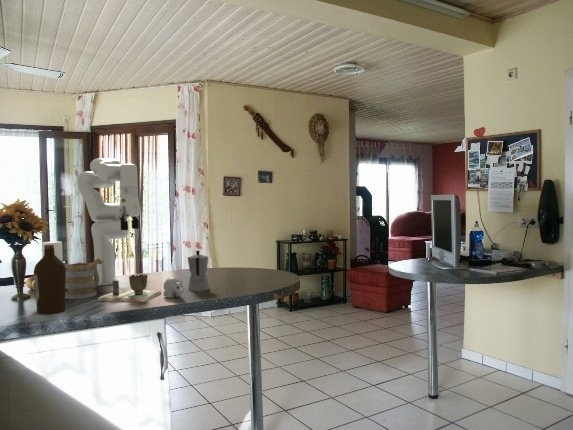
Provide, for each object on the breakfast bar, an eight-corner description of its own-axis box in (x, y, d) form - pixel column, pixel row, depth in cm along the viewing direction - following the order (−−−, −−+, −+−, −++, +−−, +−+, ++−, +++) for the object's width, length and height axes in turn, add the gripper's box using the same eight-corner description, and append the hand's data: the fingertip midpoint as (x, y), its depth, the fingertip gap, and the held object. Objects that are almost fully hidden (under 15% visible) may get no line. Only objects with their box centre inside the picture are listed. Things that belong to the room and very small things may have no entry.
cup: (134, 292, 191) (133, 273, 190) (150, 292, 190) (150, 273, 190) (126, 296, 183) (125, 276, 183) (143, 296, 183) (143, 276, 182)
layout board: (98, 301, 183) (97, 282, 183) (119, 293, 199) (118, 276, 199) (143, 301, 180) (143, 283, 180) (161, 293, 196) (160, 276, 196)
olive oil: (67, 306, 174) (65, 243, 173) (66, 312, 164) (64, 245, 163) (36, 310, 169) (34, 244, 169) (33, 316, 160) (31, 247, 159)
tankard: (80, 300, 186) (79, 264, 185) (57, 298, 190) (56, 263, 190) (114, 291, 204) (113, 258, 204) (92, 289, 209) (91, 257, 208)
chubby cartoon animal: (173, 301, 179) (173, 280, 179) (161, 297, 189) (160, 277, 188) (189, 299, 184) (189, 278, 184) (176, 294, 193) (176, 275, 193)
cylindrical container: (48, 302, 182) (46, 241, 181) (66, 302, 183) (64, 241, 182) (40, 306, 175) (38, 243, 174) (59, 306, 176) (57, 242, 175)
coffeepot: (188, 287, 209) (188, 249, 209) (209, 286, 211) (208, 248, 210) (187, 294, 194) (186, 253, 194) (209, 292, 196) (208, 252, 195)
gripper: (126, 191, 192) (128, 230, 192) (145, 191, 209) (146, 228, 209) (110, 191, 193) (111, 230, 194) (130, 192, 210) (131, 228, 211)
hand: (130, 229), depth 202 cm, fingers open, 9 cm apart
